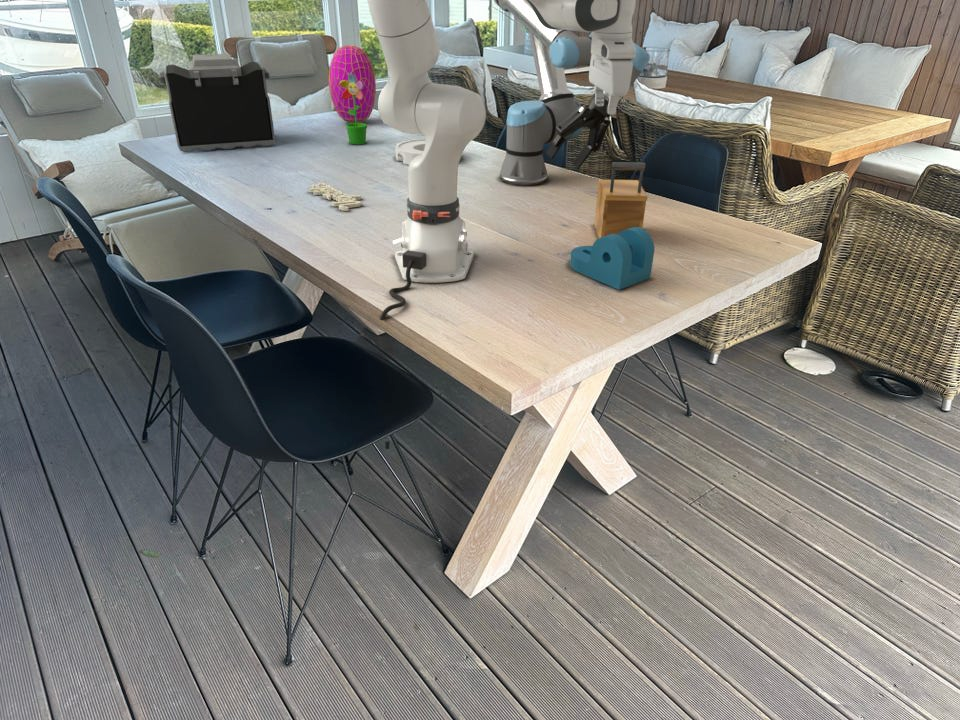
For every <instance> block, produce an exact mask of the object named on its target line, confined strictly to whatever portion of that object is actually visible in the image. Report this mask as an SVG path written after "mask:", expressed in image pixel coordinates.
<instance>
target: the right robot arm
mask: <svg viewBox="0 0 960 720" xmlns="http://www.w3.org/2000/svg"><path fill="white" fill-rule="evenodd" d="M493 1H494V3H495V4H496V5H497V6H498V7H499V8H500V9H501V10H502V11H504V12H507V13H510V14H511V15H512V16H514V18H516V20H518V21H519V22H520V24H521V25H523V26H524V27H525V28H526V29H527V30H528V35H529V41H530V46H531V50H532V56H533V61H534V66H535V71H536V76H537V81H538V87H539V92H540V93H539V94H540V97H539V99H538V100H535V99H534V100H531V99H530V100H523V101H518V102H516V103H513V104H512V105H510V107H509V108H508V110H507V116H506V122H505V123H506V145H505V146H506V147H505V156H504V160H503V163H502V165H501V167H500V172H499V180H500V181H501V182H502V183H505V184H509V185H513V186H526V187H528V186H536V185H541V184H544V183H546V182H547V180H548V171H547V167H546V164H545V159H544V145H545V144H550V146H549V147H548V149H547V151H546V152H545V154H546V155H547V156H548V157H550V159H554V158H555V156H556V155H557V153H558V152H559V151H560V149H561V148H562V146H563V145H564V144H565V142H567V141H569V140H573V139H576V138H577V137H579V135H580V134H581V133H582V130H583V128H588V129H589V130H588V138H587V145H584V146H583V148H582V149H581V150H580V152H579V153H578V154H577V156H576V157H575V159H574V160H573V162H572V163H571V164H572V166H574V167H575V168H576V169H578V170H580V168H581V167H582V165H583V164H584V163H585V161H586V160H587V159H588V158H589V156H590V155H591V154H592V152H593V153H597V151H599V150H600V149H601V146H602V143H603V140H604V139H605V135H606V132H607V130H608V128H609V126H610V125H611V120H610V119H608V118H610V117H611V116H612V115H609V114H608V113H607V105H608V104H609V94H608V93H606V92H605V91H604V105H603V106H596V105H595V99H596V97H595V92H594V93H593V95H591V97H590V99H589V100H588V104H589V105H588V107H586V106H584V104H581V102H579V101H577V100H575V96H574V92H573V91H572V90H570V89H569V88H568V83H567V78H566V73H565V69H571V68H577V67H578V68H579V67H590V61H591V55H592V54H591V42H592V32H590V34H589V35H587V36H586V35H585V36H578V35H577V34H575V33H574V31H571V30H564V29H548V28H546V27H544V26H543V25H542V24H541V23H540V21H539V20H538V18H537V16H536V14H535V12H534V10H533V8H532V7H531V5H530V4H529V3H528V1H527V0H493ZM633 44H634V46H635V48H636V57H635V59H631V60H632V63H633V67H632V75H631V81H630V87H629V89H631V87H632V86H633V84H634V83H635V82H636V81H637V79H638V78H639V76H640V75H641V74H642V73H643V72H644V70H645V68H646V66H647V65H648V63H650V60H651V54H649V53H648V52H647V51H646V50H645V49H643V48H642V47H641V46H639V45H638V44H637V43H635V42H634V41H633ZM624 98H625V96H620V99H619V102H618V104H617V105H619V104H620V103H621V102H622V101H623V99H624Z"/></svg>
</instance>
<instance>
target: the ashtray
mask: <svg viewBox="0 0 960 720" xmlns="http://www.w3.org/2000/svg"><path fill="white" fill-rule="evenodd" d="M425 143H426V138H416V139H415V138H414V139H408V140H404V141H399V142H398V143H396V144H395V146H394V150H395V151H394V152H395V153H394V154H395V160H396V161H397V162H403V164H404V165H408V166H409V164H410V162H411V161H412V160H413V159H414V158H415V157H416V156H418V155H419V154H421V153H423V152H424V149H425ZM461 158H462V157H461ZM461 158H460V160H462V159H461Z"/></svg>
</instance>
